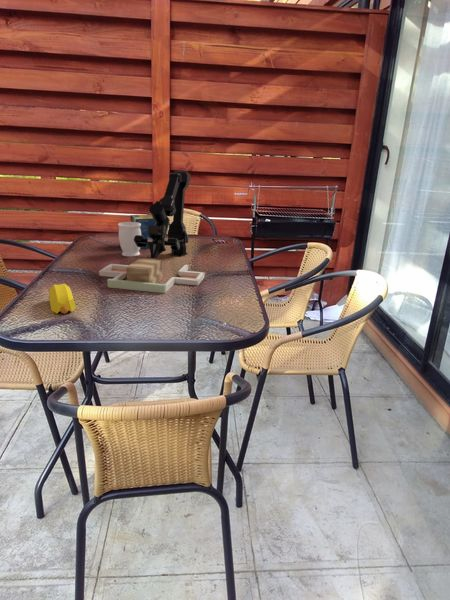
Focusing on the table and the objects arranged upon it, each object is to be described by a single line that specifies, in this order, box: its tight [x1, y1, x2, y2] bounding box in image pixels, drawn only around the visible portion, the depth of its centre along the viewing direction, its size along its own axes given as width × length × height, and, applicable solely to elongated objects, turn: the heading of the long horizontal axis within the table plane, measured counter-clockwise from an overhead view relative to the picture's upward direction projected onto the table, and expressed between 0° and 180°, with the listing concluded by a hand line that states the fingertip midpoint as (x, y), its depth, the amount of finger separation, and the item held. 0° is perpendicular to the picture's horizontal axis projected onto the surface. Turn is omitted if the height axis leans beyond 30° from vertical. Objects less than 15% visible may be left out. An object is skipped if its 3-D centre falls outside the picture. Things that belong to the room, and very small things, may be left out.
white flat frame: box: [98, 263, 206, 294], centre depth 184 cm, size 32×42×3 cm
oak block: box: [126, 256, 163, 284], centre depth 178 cm, size 15×9×8 cm, turn 169°
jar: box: [117, 221, 141, 258], centre depth 213 cm, size 11×10×15 cm
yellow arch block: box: [48, 283, 77, 314], centre depth 152 cm, size 18×7×8 cm
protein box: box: [130, 213, 156, 250], centre depth 229 cm, size 10×15×16 cm
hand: (152, 260), depth 184 cm, fingers closed
